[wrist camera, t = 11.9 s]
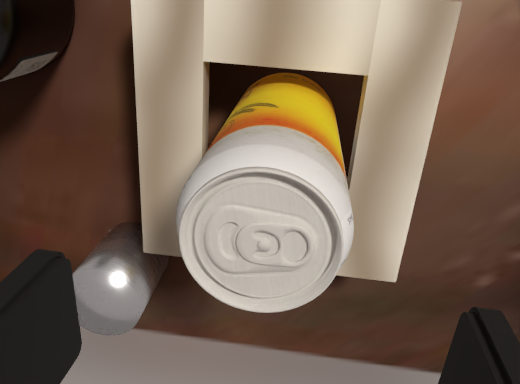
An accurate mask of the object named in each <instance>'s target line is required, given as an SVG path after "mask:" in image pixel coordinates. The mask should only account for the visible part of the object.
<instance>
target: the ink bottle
mask: <svg viewBox="0 0 520 384" xmlns="http://www.w3.org/2000/svg"><path fill="white" fill-rule="evenodd" d="M73 22H74V0H0V82H1V81H4V80H8V79H11V78H14V77H18V76H21V75H24V74H27V73H31V72H34V71H37V70H39V69H42V68H44V67H46V66H47V65H49V64H50V63H52V62H53V61H54V60H55V59H56V58H57V57H58V56H59V55H60V54H61V52H62V51H63V49H64V48H65V46H66V44H67V42H68V40H69V37H70V34H71V31H72V27H73Z"/></svg>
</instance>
